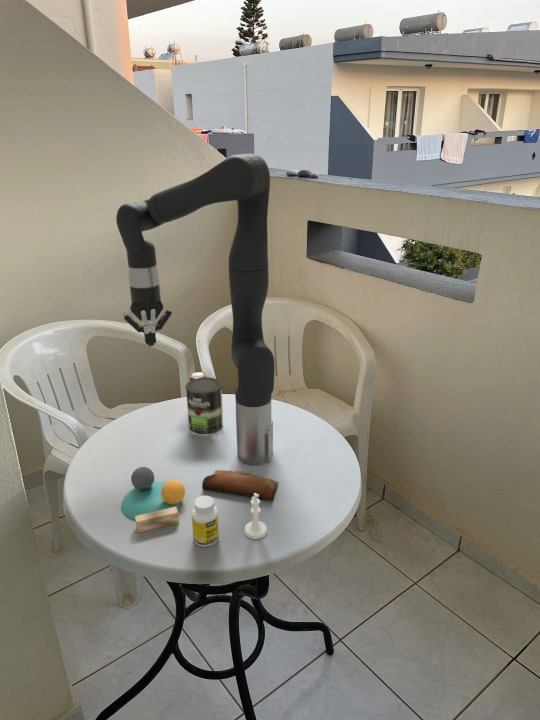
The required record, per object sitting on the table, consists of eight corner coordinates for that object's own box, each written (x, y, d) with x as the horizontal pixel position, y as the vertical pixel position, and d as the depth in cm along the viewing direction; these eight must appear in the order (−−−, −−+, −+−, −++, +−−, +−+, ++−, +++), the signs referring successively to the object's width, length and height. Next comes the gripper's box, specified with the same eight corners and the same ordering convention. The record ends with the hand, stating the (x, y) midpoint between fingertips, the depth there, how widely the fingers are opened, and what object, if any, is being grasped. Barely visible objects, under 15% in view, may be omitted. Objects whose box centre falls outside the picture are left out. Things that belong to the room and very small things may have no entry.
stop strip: (177, 517, 114) (176, 506, 113) (178, 522, 112) (177, 512, 111) (136, 526, 111) (135, 516, 110) (137, 532, 109) (136, 522, 108)
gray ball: (159, 487, 122) (157, 476, 127) (149, 469, 120) (147, 459, 125) (137, 498, 121) (136, 487, 126) (127, 480, 119) (126, 469, 124)
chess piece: (271, 530, 110) (271, 493, 106) (255, 542, 107) (255, 504, 103) (255, 519, 113) (255, 483, 109) (239, 531, 110) (238, 494, 106)
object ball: (187, 506, 118) (188, 483, 121) (179, 498, 114) (181, 475, 117) (165, 508, 119) (166, 485, 122) (156, 501, 114) (158, 477, 117)
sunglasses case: (281, 480, 126) (278, 469, 121) (275, 507, 122) (272, 497, 117) (213, 470, 130) (207, 458, 125) (206, 496, 126) (199, 485, 121)
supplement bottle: (208, 551, 104) (205, 513, 101) (188, 541, 107) (185, 504, 103) (224, 535, 109) (222, 498, 105) (204, 526, 111) (201, 490, 107)
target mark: (190, 486, 124) (190, 485, 124) (170, 525, 112) (170, 524, 111) (136, 480, 126) (136, 479, 126) (111, 517, 114) (110, 517, 114)
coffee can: (215, 439, 144) (213, 395, 138) (182, 433, 147) (179, 390, 141) (228, 421, 153) (227, 379, 147) (197, 416, 156) (194, 375, 150)
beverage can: (207, 413, 157) (205, 379, 152) (190, 413, 157) (188, 378, 152) (209, 405, 162) (207, 371, 157) (193, 405, 162) (190, 371, 157)
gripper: (167, 277, 136) (172, 337, 143) (116, 281, 132) (124, 343, 139) (172, 284, 129) (177, 346, 136) (119, 288, 125) (127, 353, 132)
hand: (150, 344), depth 137 cm, fingers closed
